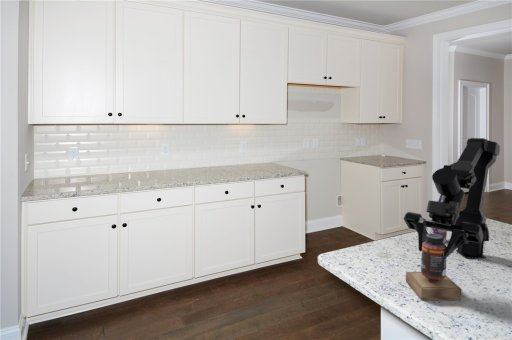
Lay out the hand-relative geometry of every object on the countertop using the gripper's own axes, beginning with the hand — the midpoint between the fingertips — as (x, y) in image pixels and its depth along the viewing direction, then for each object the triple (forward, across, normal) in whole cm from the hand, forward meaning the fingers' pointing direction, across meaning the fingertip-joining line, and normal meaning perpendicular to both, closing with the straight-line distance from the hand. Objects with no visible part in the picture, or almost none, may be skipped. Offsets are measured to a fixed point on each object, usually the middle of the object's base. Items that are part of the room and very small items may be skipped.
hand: (432, 253), depth 88 cm
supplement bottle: (+4, 0, +6) cm, 7 cm away
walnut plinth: (+7, 0, +8) cm, 11 cm away
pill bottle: (-22, -13, +38) cm, 45 cm away
